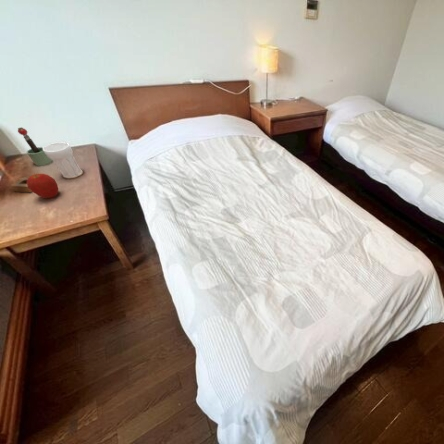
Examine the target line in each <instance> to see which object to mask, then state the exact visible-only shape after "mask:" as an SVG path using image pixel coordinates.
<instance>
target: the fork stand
mask: <svg viewBox="0 0 444 444" xmlns="http://www.w3.org/2000/svg"><path fill="white" fill-rule="evenodd" d="M28 178H29V177H25V176H22V177H21V178H20V179H18V180H17V181H15V182H14V183H12V184H10V187H11V188H12V189H13V191H14V192H18V193H33V192H32V191H31V190H30V189H29V188H28V186H27V180H28Z"/></svg>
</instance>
